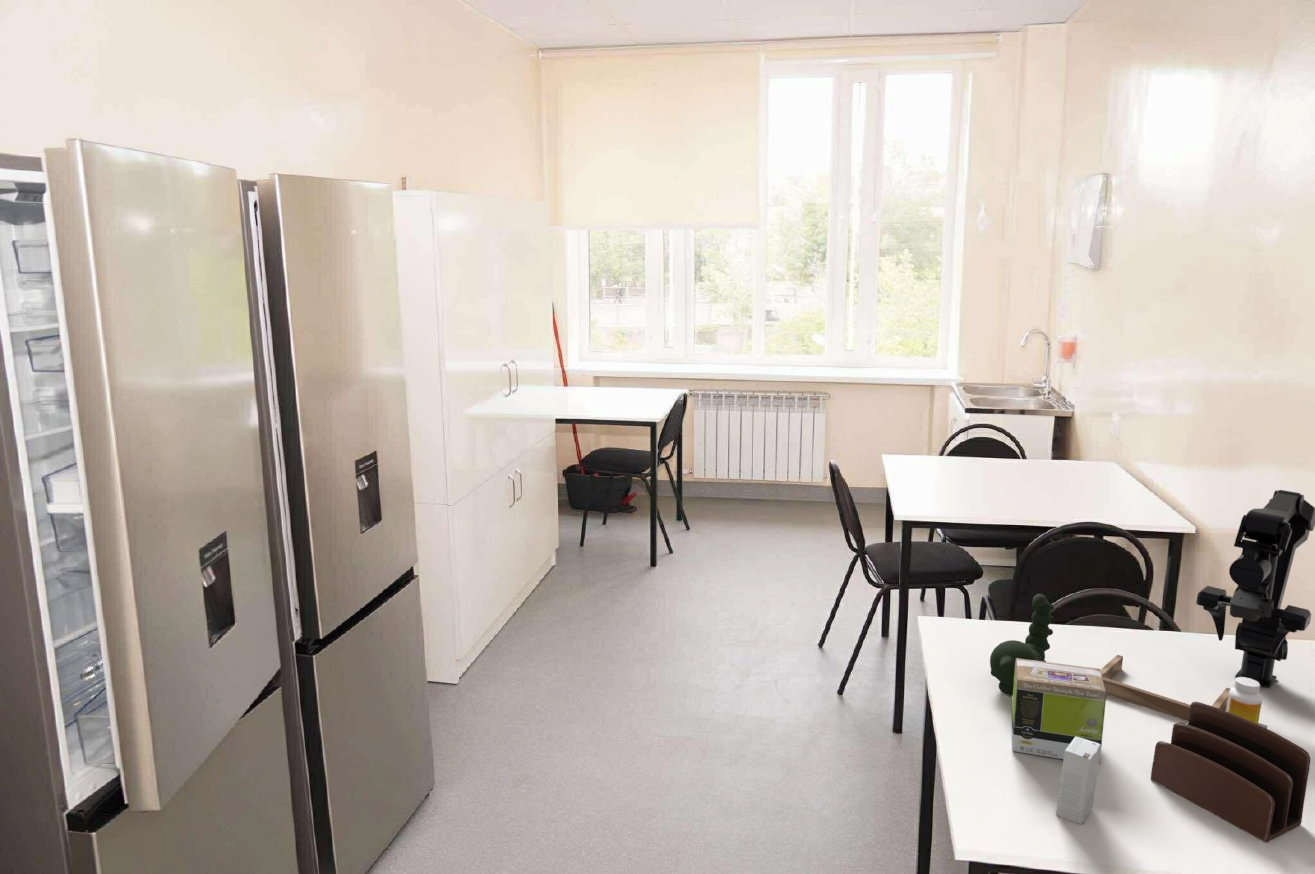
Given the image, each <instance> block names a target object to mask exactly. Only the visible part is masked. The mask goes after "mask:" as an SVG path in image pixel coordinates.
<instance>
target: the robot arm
mask: <svg viewBox="0 0 1315 874" xmlns="http://www.w3.org/2000/svg"><path fill="white" fill-rule="evenodd" d="M1314 530H1315V506H1314V505H1312V504H1311V503H1309V502H1308V501H1307V500H1306V499H1305V495H1304V494H1301V493H1300V492H1295V491H1289V490H1284V489H1279V490H1278V489H1276V490H1274V492H1273V495H1272V498H1270V499H1269V500H1268V502H1267V503H1266V504H1265V505H1264V507H1262V508H1252V509H1250V510H1249V511H1247V513H1246V514H1243V516H1242V518H1241V521H1240V524H1239V528H1238V530H1237V534H1236V537H1235V541H1234V544H1233V547H1235V548H1240V549H1242V550H1241V551H1242V552H1241V554H1240V555H1239V556H1238V558H1237V559H1235V560H1234V561H1233V562H1232V563H1231V565H1230V566H1229V569H1228V571H1229V572H1228V573H1229V577H1230V578H1231V580H1232V581H1233V582H1234V583H1235V584H1236V585H1237V587H1236V589H1235V590H1234V592H1233V595H1232V596H1228V595H1227V590H1226V589H1224V588H1219V587H1216V586H1215V587H1214V586H1210V585H1207V586H1205V587H1203V588H1202V589H1201V590H1200V591H1199V592H1198V593H1197V596H1196V603H1195V604H1196V605H1197V606H1201V607H1202V609H1203V610H1204V611H1206V612H1208V613H1209V614H1210V615H1211V617H1212V620H1213V623H1214V626H1215V630H1216V634H1217V637H1218V641H1220V642H1221V641H1223V638H1224V635H1225V634H1224V633H1225V627H1226V626H1225V625H1226V616H1227V615H1226V612H1227V606H1228V607H1229V615H1230V617H1233V618H1239V619H1241V622H1240V621H1239V622H1238V624H1237V626H1236V631H1235V641H1234V650H1239V651H1242V652H1243V655H1242V660H1241V667H1240V669H1239V670H1238V672H1237V673H1236V674H1235V675H1234V678H1235V679H1236V678H1237V677H1246V678H1250V679H1253V680H1255V681H1257V682H1258V683H1259V684H1260V687H1263V688H1268V689H1269V688H1271V687H1272V685H1273V684H1274V683H1275V681H1276V680H1277V678H1278V677H1277V676H1276V675H1274V668H1275V661H1277V662H1281V660H1282V661H1283V660H1287V659H1288V655H1289V654H1288V653H1289V647H1288V645H1289V644H1288V640H1287V635H1288V634H1289V633H1293V634H1294V633H1297V632H1298V631H1299V632H1304V631H1306V629H1307V628H1308V626H1309V625H1310V624H1311V619H1312V613H1311V611H1310V610H1309V609H1307V608H1302V607H1300V606H1299V607H1298V606H1294V605H1292V604H1291V605H1290V604H1288V605H1287V606H1286V607H1285V608H1284V609H1283V608H1282V607H1281V606H1282V603H1283V599H1284V595H1285V592H1286V587H1287V583H1288V580H1289V576H1290V573H1291V569H1292V565H1293V561H1294V557H1295V553H1296V549H1298V548H1299V547H1300V546H1302V545H1303V544H1304V543H1305V542H1306V541H1307V540H1308V538H1309V535H1310V532H1313V531H1314Z"/></svg>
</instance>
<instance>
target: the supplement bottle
mask: <svg viewBox="0 0 1315 874" xmlns="http://www.w3.org/2000/svg"><path fill="white" fill-rule="evenodd" d="M1234 680H1235V681H1234V684H1233V685H1234V687H1231V688H1230V691H1229V695H1228V701H1227V707H1226V710H1225V711H1227V712H1229V713H1232V714H1234V715H1237V716H1239V717H1242V718H1244V719H1247V720H1249V721H1251V722H1254V723H1256V724H1258V723H1259V720H1260V716H1261V715H1260V713H1261V708H1262V702H1263V697H1262V695H1261V694H1260V693H1259V692H1260V688H1261V686H1260V684H1259V683H1258V682H1257V681H1255V680H1253V679H1250V678H1246V677H1237V678H1235V679H1234Z"/></svg>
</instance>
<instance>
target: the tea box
mask: <svg viewBox="0 0 1315 874" xmlns="http://www.w3.org/2000/svg"><path fill="white" fill-rule="evenodd" d="M1100 669H1101V668H1095V667H1090V666H1089V667H1088V666H1081V665H1071V664H1065V663H1058V662H1057V663H1056V662H1050V661H1046V662H1043V661H1035V660H1026V659H1019V658H1016V661H1015V673H1014V687H1013V696H1012V697H1011V698H1012V699H1011V701H1012V702H1011V709H1010V711H1011V712H1010V713H1011V714H1010V730H1011V734H1010V735H1011V750H1012V751H1013V752H1017V753H1023V754H1029V755H1034V756H1041V757H1042V756H1043V757H1048V758H1055V759H1061V760H1064V752H1065V750H1066V749H1067V747H1068V746H1069V744H1070V743H1071V742H1072V740H1073V739H1074V737H1080V738H1083V739H1086V740H1089V741H1093V742H1096V743H1099V744H1101V747H1102V743H1103V734H1104V733H1103V732H1104V725H1105V724H1104V723H1105V713H1106V704H1107V703H1106V701H1107V694H1106V690H1105V687H1104V683H1103V679H1102V676H1101V672H1100ZM1012 751H1011V752H1012ZM1101 753H1102V750H1101V751H1100V756H1102V755H1101ZM1100 763H1101V757H1100V758H1099V765H1100Z"/></svg>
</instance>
